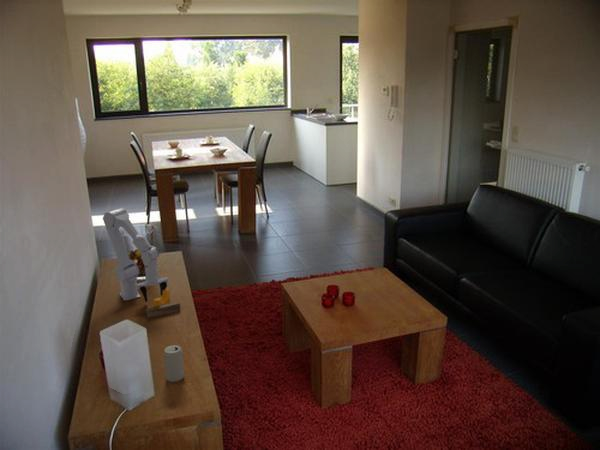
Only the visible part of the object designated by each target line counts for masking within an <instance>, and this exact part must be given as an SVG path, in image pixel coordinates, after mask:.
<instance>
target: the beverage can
mask: <svg viewBox="0 0 600 450" xmlns="http://www.w3.org/2000/svg"><path fill="white" fill-rule="evenodd" d="M163 359H164V361H163V362H164V370H165V378H166V381H168V382H171V383H177V382H180V381H181V380H183V379H184V377H185V369H184V368H185V367H184V356H183V350H182V347H181V346H180V345H178V344H172V345H169V346H166V347H165V348H164V351H163Z"/></svg>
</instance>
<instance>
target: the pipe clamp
mask: <svg viewBox="0 0 600 450" xmlns="http://www.w3.org/2000/svg"><path fill="white" fill-rule="evenodd" d="M162 292H163V294H162V295H160V296H159V297H157V298H154V299H152V302H153V307H157V306H161V305H165V304H170V303H171V295H170V294H171V293H170V289H164V290H163V291H162Z"/></svg>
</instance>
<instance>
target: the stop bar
mask: <svg viewBox="0 0 600 450" xmlns="http://www.w3.org/2000/svg"><path fill="white" fill-rule="evenodd" d="M145 311H146V312H145V313H146V314H145V315H146V318H147V319H152V318H156V317H158V316H159V317H160V316H163V315H167V314H171V313H175V312H178V311H181V303H180V302H179V301H175V302H170V303H169V304H165V305H161V306H157V307H154V306H153V307H149V308H146V309H145Z"/></svg>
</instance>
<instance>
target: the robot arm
mask: <svg viewBox="0 0 600 450" xmlns="http://www.w3.org/2000/svg"><path fill="white" fill-rule="evenodd" d="M102 220H103V224H104V226H105V230H106V232H107V235H108V238H109V240H110V243H111V246H112V249H113V251H114V254H115V256H116V259H117V262H118V263H117V265H116V267H115V268H114V269H115V271H116V278H117V280H118V281H119V283H120V293H119V295H120V297H121V298H122V300H123V301H125V302H126V301H129V300H134V299H139V298H141V297H142V296H141V295H140V293H139V291H138V290H140V292H141V294H142V295H143V299H144V302H148V296H147V293H148V292H147V291H148V290H147V289H146V288H147V287H151V286H153V287H154V286H158V285H159V290H160V291H159V293H160V296H161V295H162V294H163V292H162V291H163V290H164V289H165V290H167V288H168V284H167V283H169V278H168V277H159V270H158V260H157V259H158V258H160V257H159V256H160V252H159V250H158V247H156V246H154V245H151V244H150V243H149V241H148V240H147V239H146V237H145V236H144V235H141V234H139V232H138V230H137V229H136V228H135V226H134V225H133V222H131V220H130V214H129V213H128V212H127V210H126V209H125V208H124V207H120V208H116V209H114V210H110V211H106V212H104V214H103V216H102ZM120 228H122V229H123V231H125V232H126V233H127V234H128V235H129V237H130V238H131V239H132V244H133V245H134V247H135V248H136V249H137V250H138V251H139V253H141V255H140V258H141V260H142V262H143V265H144V271H145V280H144V281H142V282H139V283H138V282H137V281H138V280H137V279H138V275H139V273H140V269H139V267H138V265H137V264H136V261H135V260H133V259H130V256H129V253H128V251H127V247H126V246H125V242H124V239H123V236H122V234H121V231H120Z"/></svg>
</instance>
